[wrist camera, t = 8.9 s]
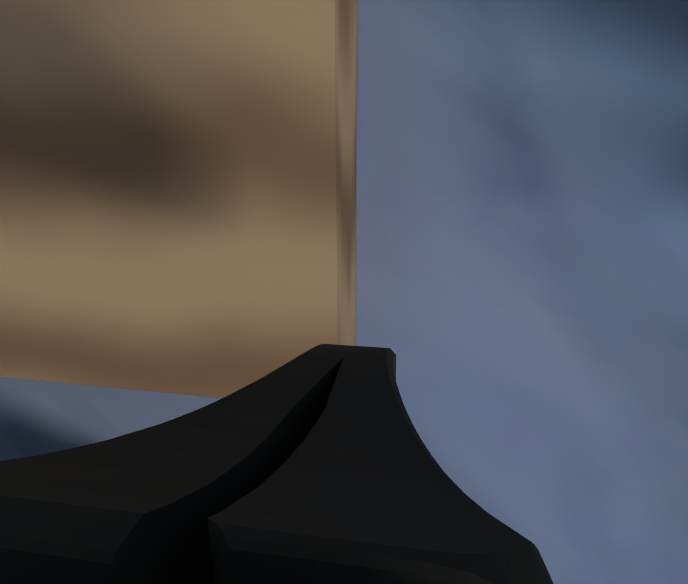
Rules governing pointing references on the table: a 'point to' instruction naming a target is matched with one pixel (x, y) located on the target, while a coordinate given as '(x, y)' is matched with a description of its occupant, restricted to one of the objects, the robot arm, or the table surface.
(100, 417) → the table surface
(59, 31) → the walnut deck
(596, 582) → the table surface
